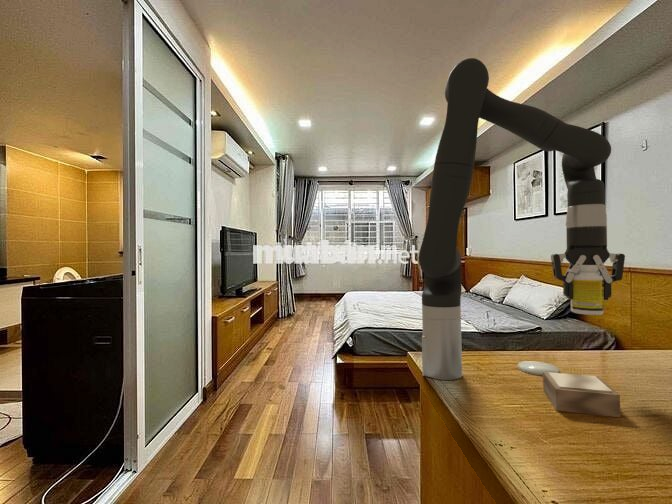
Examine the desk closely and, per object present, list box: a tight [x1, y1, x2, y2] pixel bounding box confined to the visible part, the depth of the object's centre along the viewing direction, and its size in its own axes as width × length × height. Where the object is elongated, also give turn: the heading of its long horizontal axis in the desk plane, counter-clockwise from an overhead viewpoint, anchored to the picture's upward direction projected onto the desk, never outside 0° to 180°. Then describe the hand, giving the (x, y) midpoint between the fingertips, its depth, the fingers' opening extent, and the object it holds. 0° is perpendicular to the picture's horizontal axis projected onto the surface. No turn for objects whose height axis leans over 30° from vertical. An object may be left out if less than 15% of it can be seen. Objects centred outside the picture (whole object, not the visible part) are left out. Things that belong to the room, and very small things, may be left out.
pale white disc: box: [517, 360, 560, 377], centre depth 89 cm, size 9×9×1 cm
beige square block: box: [542, 372, 621, 418], centre depth 69 cm, size 10×10×4 cm
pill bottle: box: [570, 265, 605, 316], centre depth 80 cm, size 6×6×11 cm
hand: (586, 298), depth 80 cm, fingers closed on pill bottle, 6 cm apart
